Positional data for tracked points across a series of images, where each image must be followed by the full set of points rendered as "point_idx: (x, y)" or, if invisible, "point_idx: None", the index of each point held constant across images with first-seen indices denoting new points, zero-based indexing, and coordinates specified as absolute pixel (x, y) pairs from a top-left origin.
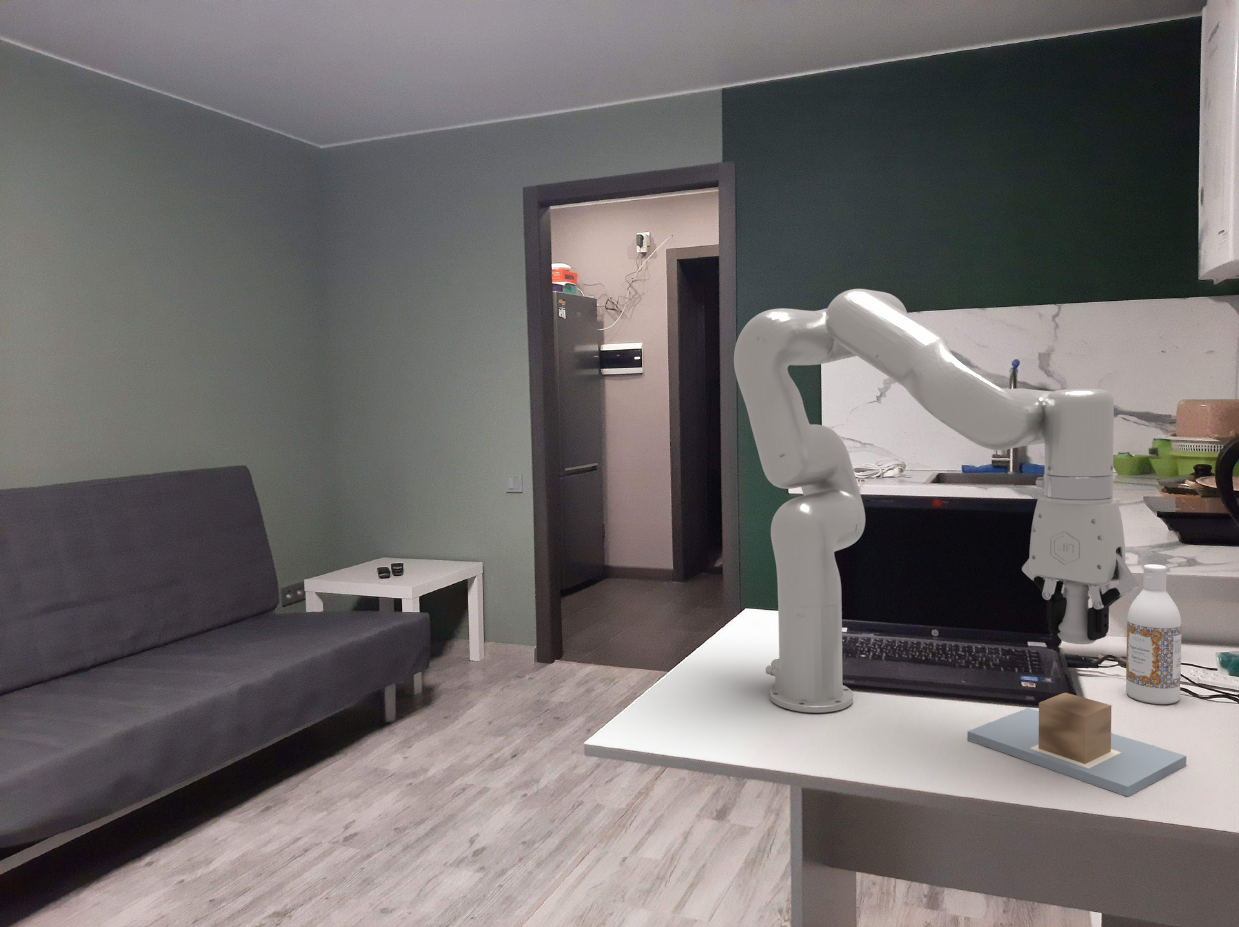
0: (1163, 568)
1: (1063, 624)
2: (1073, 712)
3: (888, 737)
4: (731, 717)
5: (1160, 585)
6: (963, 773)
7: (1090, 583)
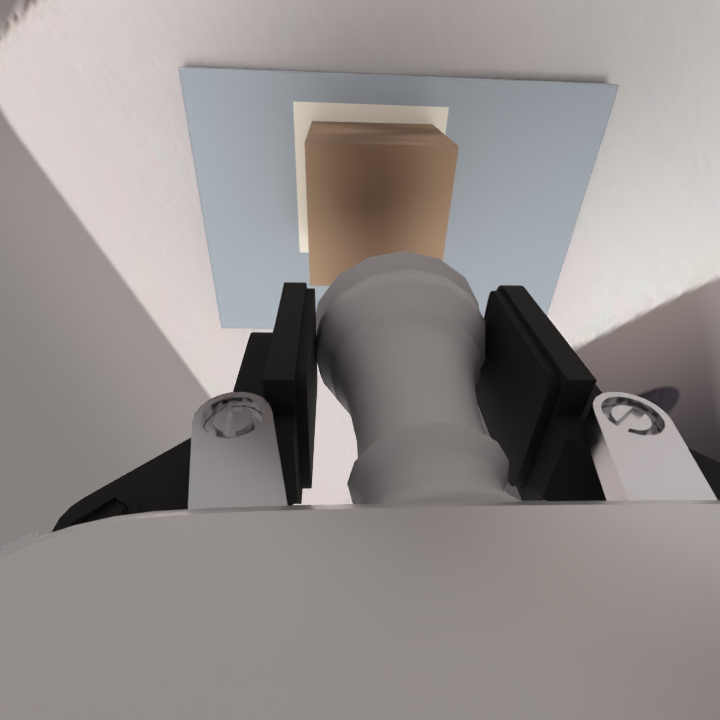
0: None
1: (452, 312)
2: (346, 147)
3: None
4: None
5: None
6: None
7: (168, 515)
